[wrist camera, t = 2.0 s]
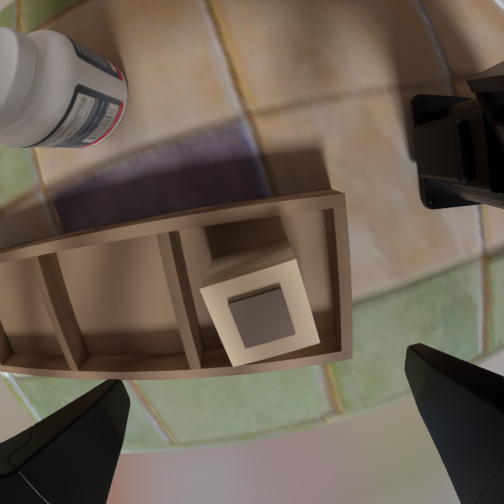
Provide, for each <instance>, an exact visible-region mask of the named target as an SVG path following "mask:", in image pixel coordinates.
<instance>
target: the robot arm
mask: <svg viewBox="0 0 504 504" xmlns="http://www.w3.org/2000/svg"><path fill="white" fill-rule="evenodd" d="M466 82H467V83H468V85H469V87H470V89H471V91H472V92H475V94H476V96H477V98H475V99H472V98H462V97H452V96H439V95H423V94H420V95H416V96H414V97H413V98H412V100H411V105H412V111H413V117H414V124H415V129H414V139H415V147H416V155H417V165H418V173H419V175H420V176H421V188H422V202H423V205H424V206H425V207H426V208H428V209H442V208H451V207H460V206H469V205H478V204H486V205H490V206H494V207H498V208H502V209H504V61H503V62H501V63H499V64H497V65H495V66H493V67H491V68H489V69H487V70H485V71H483V72H481V73H479V74H477V75H476V76H474V77H472V78H470V79H468V80H466ZM418 100H420V101H421V102H422V107H420V106H419V104H418ZM430 197H432V198H433V202H432V203H431V204H430V203H429V199H430ZM405 374H406V377H407V380H408V382H409V385H410V388H411V390H412V393H413V396H414V399H415V402H416V405H417V407H418V410H419V412H420V414H421V417H422V419H423V421H424V423H425V424H426V427H427V429H428V431H429V433H430V435H431V437H432V439H433V441H434V443H435V446H436V448H437V450H438V452H439V454H440V456H441V459H442V461H443V463H444V465H445V468H446V470H447V472H448V474H449V476H450V479H451V481H452V484H453V486H454V488H455V491H456V493H457V496H458V498H459V500H460V503H461V504H504V377H503V376H502V375H499V374H497V373H494V372H491V371H489V370H486V369H484V368H481V367H479V366H476V365H474V364H471V363H469V362H466V361H464V360H461V359H459V358H456V357H454V356H451V355H449V354H446V353H444V352H441V351H439V350H436V349H434V348H431V347H429V346H426V345H424V344H421V343H417V344H413V345H409V346H408V348H407V352H406V360H405ZM129 409H130V398H129V395H128V393H127V391H126V389H125V386H124V384H123V382H122V381H121V380H120V379H108V380H106V381H105V382H103V383H101V384H100V385H98V386H97V387H95V388H93V389H92V390H90V391H89V392H87V393H85V394H84V395H82V396H81V397H79V398H77V399H76V400H74V401H72V402H71V403H69V404H68V405H66V406H64V407H63V408H61V409H59V410H58V411H56V412H55V413H53V414H51V415H50V416H48V417H46V418H45V419H43V420H41V421H40V422H38V423H36V424H35V425H34V426H31V427H30V428H28V429H26V430H24V431H23V432H21V433H19V434H17V435H16V436H14V437H12V438H10V439H8V440H6V441H4V442H2V443H0V504H106V502H107V498H108V494H109V491H110V487H111V483H112V479H113V476H114V472H115V469H116V465H117V461H118V458H119V455H120V452H121V448H122V445H123V441H124V436H125V430H126V425H127V419H128V414H129Z"/></svg>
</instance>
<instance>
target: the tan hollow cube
mask: <svg viewBox="0 0 504 504" xmlns="http://www.w3.org/2000/svg"><path fill="white" fill-rule="evenodd" d="M200 291H201V294H202V296H203V299H204V301H205V303H206V306H207V308H208V311H209V313H210V315H211V318H212V320H213V322H214V325H215V327H216V329H217V332H218V334H219V336H220V339H221V341H222V343H223V345H224V348H225V350H226V352H227V354H228V357H229V359H230V361H231V363H232V365H233V367H235V366H240V365H244V364H248V363H251V362H255V361H259V360H263V359H267V358H270V357H274V356H277V355H281V354H285V353H288V352H291V351H295V350H298V349H302V348H305V347H308V346H311V345H315V344H318V343H320V340H319V337H318V333H317V329H316V326H315V322H314V319H313V315H312V312H311V308H310V305H309V301H308V298H307V294H306V291H305V288H304V284H303V281H302V277H301V274H300V271H299V267H298V264H297V261H296V258H295V256H294V253H293V251H292V248H291V246H290V244H289V241H288V239H287V237H283V238H280V239H277V240H274V241H271V242H268V243H264V244H261V245H258V246H255V247H252V248H249V249H246V250H242V251H239V252H236V253H233V254H230V255H227V256H224V257H221V258H217V259H214V260H212V262H211V264H210V266H209V268H208V271H207V273H206V275H205V278H204V280H203V282H202V284H201V287H200Z"/></svg>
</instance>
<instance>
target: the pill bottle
mask: <svg viewBox="0 0 504 504" xmlns="http://www.w3.org/2000/svg"><path fill="white" fill-rule="evenodd" d="M127 98H128V91H127V84H126V80H125V78H124V76H123V74H122V72H121V71H120V70H119V69H118V68H117V67H116V66H115V65H114V64H113V63H111V62H110V61H108V60H106V59H105V58H103V57H102V56H100V55H98V54H97V53H95V52H93V51H92V50H90V49H88V48H86V47H85V46H83V45H81V44H80V43H78V42H76V41H74V40H72V39H71V38H69V37H67V36H65V35H63V34H61V33H58V32H55V31H52V30H38V31H34V32H31V33H29V34H24V33H21V32H19V31H16V30H14V29H11V28H8V27H0V143H2V144H4V145H6V146H10V147H19V148H28V147H67V148H85V147H90V146H93V145H96V144H98V143H100V142H102V141H103V140H104V139H106V138H107V137H108V136H109V135H110V134H111V133H112V132H113V131H114V130H115V129H116V127H117V126H118V125H119V123H120V121H121V119H122V117H123V115H124V112H125V109H126V105H127Z"/></svg>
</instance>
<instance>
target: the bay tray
mask: <svg viewBox="0 0 504 504" xmlns="http://www.w3.org/2000/svg"><path fill="white" fill-rule="evenodd" d="M283 237H287V239H288V241H289V244H290V246H291V248H292V251H293V253H294V256H295V258H296V261H297V264H298V267H299V271H300V274H301V277H302V281H303V284H304V288H305V291H306V294H307V298H308V301H309V305H310V308H311V312H312V315H313V319H314V322H315V326H316V329H317V333H318V337H319V340H320V343H318V344H315V345H311V346H308V347H305V348H302V349H298V350H295V351H291V352H288V353H285V354H281V355H277V356H274V357H270V358H267V359H263V360H259V361H255V362H251V363H248V364H244V365H240V366H235V367H233V365H232V363H231V361H230V359H229V357H228V354H227V352H226V350H225V348H224V345H223V343H222V341H221V339H220V336H219V334H218V332H217V329H216V327H215V325H214V322H213V320H212V318H211V315H210V313H209V311H208V308H207V306H206V303H205V301H204V299H203V296H202V294H201V291H200V287H201V284H202V282H203V280H204V278H205V275H206V273H207V271H208V268H209V266H210V264H211V262H212V260H214V259H217V258H221V257H224V256H227V255H230V254H233V253H236V252H239V251H242V250H246V249H249V248H252V247H255V246H258V245H261V244H264V243H268V242H271V241H274V240H277V239H280V238H283ZM351 358H352V291H351V268H350V251H349V236H348V224H347V212H346V202H345V193H342V192H339V191H336V190H333V189H330V190H321V191H313V192H304V193H297V194H289V195H281V196H274V197H266V198H259V199H252V200H246V201H239V202H232V203H226V204H219V205H213V206H207V207H201V208H195V209H189V210H183V211H177V212H171V213H166V214H160V215H155V216H149V217H144V218H139V219H133V220H128V221H123V222H118V223H113V224H108V225H103V226H98V227H93V228H89V229H84V230H79V231H75V232H70V233H66V234H61V235H57V236H52V237H48V238H44V239H39V240H35V241H31V242H27V243H23V244H19V245H15V246H11V247H7V248H3V249H0V371H2V372H9V373H17V374H26V375H36V376H47V377H59V378H75V379H99V380H108V379H120V380H164V379H188V378H205V377H219V376H231V375H241V374H251V373H260V372H269V371H277V370H284V369H292V368H298V367H305V366H311V365H318V364H324V363H329V362H335V361H340V360H346V359H351Z"/></svg>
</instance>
